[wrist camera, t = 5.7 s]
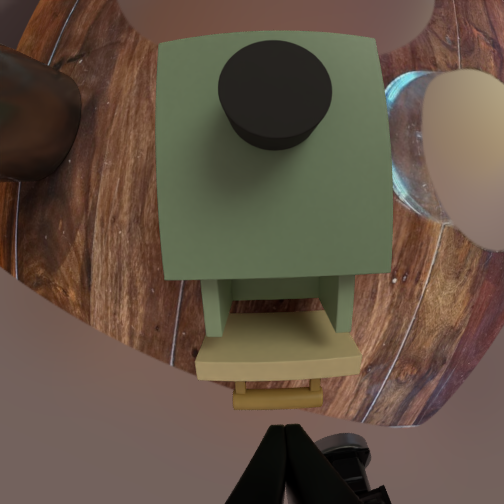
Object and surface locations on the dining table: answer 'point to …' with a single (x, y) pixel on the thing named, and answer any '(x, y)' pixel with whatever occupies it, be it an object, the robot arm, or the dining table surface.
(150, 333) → the dining table surface
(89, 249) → the dining table surface
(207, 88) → the cabinet
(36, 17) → the dining table surface
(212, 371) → the drawer
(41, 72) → the round grey canister
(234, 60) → the black rubber puck
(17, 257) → the dining table surface
